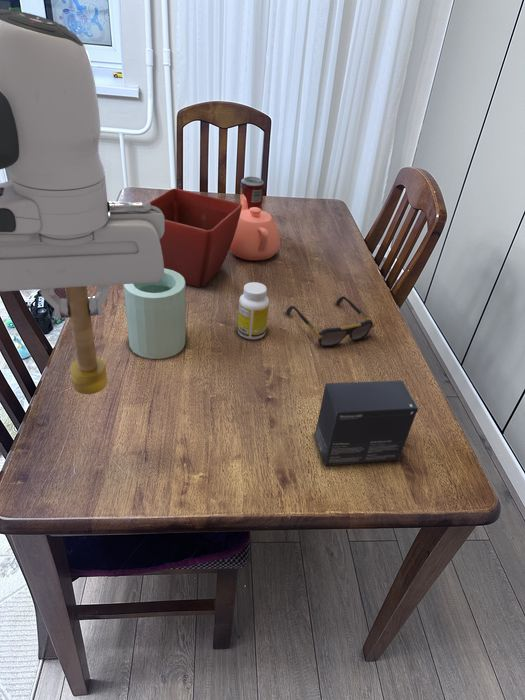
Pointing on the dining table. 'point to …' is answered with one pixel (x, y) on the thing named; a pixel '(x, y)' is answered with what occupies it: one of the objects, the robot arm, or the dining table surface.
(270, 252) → the teapot
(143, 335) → the mint green tube
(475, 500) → the dining table surface
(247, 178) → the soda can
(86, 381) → the beige handle with collar
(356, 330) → the sunglasses
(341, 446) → the small box
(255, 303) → the pill bottle
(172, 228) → the flower pot
